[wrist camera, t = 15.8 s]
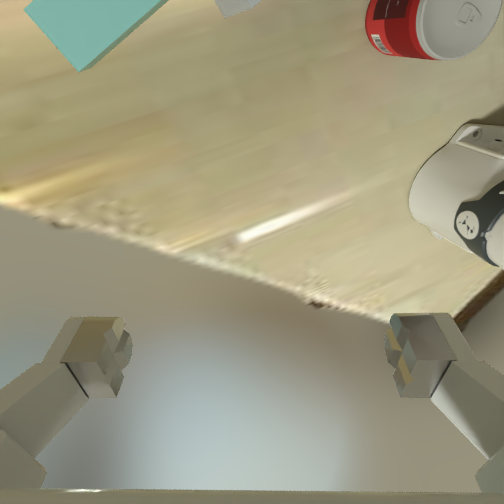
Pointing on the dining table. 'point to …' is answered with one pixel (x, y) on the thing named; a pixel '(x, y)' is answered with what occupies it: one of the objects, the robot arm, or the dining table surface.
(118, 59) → the dining table surface
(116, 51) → the dining table surface
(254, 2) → the phone dock
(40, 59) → the dining table surface
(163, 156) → the dining table surface
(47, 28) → the long teal bar
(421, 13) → the canned food
